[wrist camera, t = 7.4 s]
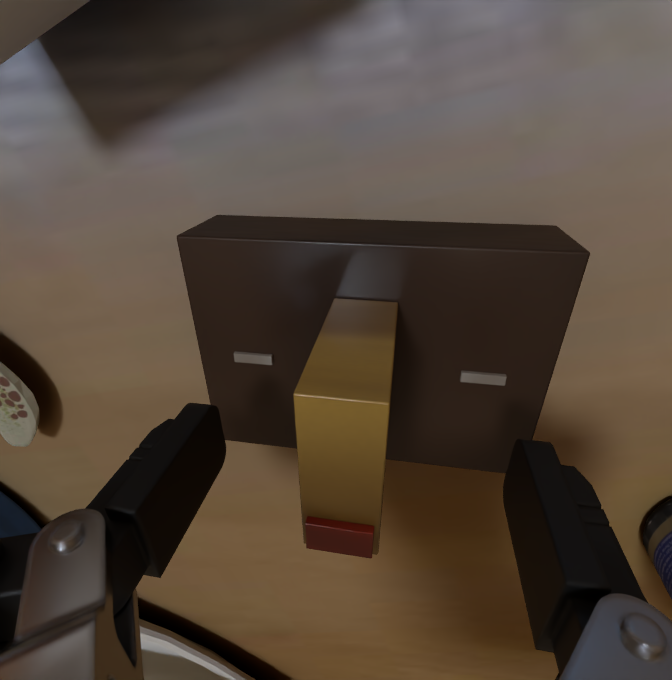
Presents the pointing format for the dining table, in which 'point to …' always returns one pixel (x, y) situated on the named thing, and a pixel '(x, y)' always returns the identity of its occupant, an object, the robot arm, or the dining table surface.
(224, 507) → the dining table surface
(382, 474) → the tan switch toggle
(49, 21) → the mug
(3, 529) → the bowl
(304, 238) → the plate
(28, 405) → the decorative turtle
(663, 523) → the pill bottle
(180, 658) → the plate
